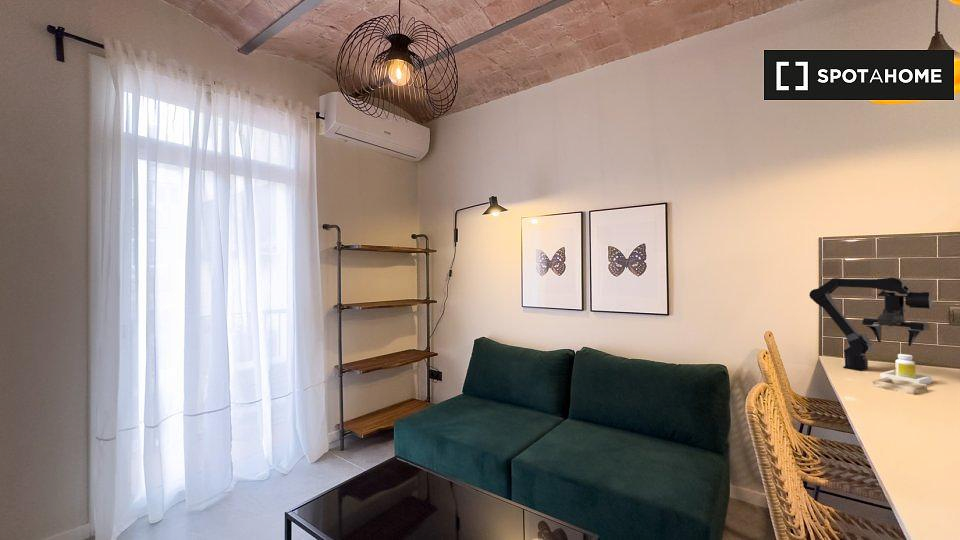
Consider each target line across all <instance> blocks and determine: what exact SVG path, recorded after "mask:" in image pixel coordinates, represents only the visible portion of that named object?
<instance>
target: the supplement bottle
mask: <svg viewBox="0 0 960 540" xmlns="http://www.w3.org/2000/svg"><path fill="white" fill-rule="evenodd" d="M897 358H898V359H895V362H894V363H895V364H894V365H895V367H894V368H895V369H894V370H895V375H896V376H902V377H907V378H913V379H915V374H916V362H915V361H913V358H914V357H913V355H911V354H906V353H899V354H897Z"/></svg>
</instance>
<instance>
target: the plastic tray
mask: <svg viewBox="0 0 960 540" xmlns="http://www.w3.org/2000/svg"><path fill="white" fill-rule="evenodd" d="M879 377H880V378H879V379H882V378H886V377H888V378H893V379H899V380H904V381H910V382H915V383H920V384H926V385H927V386H928V385H929V384H932V383H933V376H932V375H925V374H921V373H915V379H913V378H907V377H902V376H896V375H895V369H892V370H887V371H884V372H880V375H879Z"/></svg>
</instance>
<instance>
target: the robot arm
mask: <svg viewBox="0 0 960 540" xmlns="http://www.w3.org/2000/svg"><path fill="white" fill-rule="evenodd" d="M839 287H840V288H841V287H842V288H844V287H845V288H867V289H869V288H871V289H875V290H881V291H880V292H879V293H878V294H877V297H883V298H884V300H883V301H884V302H883V304H884V305H883V306H884V308H883V310H882V314H881V313H880V315H879V316H878V317H865V318H863V319H862V320H861V324H862V326H863V325H865V326H866V327H867V328H869V329H871V330H872V332H873V334H874V336H875V337H876V340H877V342H878V343H882V326H887V327H904V328H909V329H907V330H908V341H907V342H908V344H907V345H908V346H909V347H911V346H913V343H914V342H915V340H916V338H917V337H918V336H919V335H920V333H921V332H925V331H928V330H930V324H929V323H928V322H926V321H910V322H906V319H905V313H906V309H905V305H906V306H907V307H909V308H910V309H920V310H921V309H925V310H931V309H932V306H933V300H932V296H931V292H930V291H912V290H911V289H909V287H908V286H906V282H905V281H904V279H902V278H901V277H897V276H894V277H885V278H875V279H867V278H839V277H835V278H831V279H830V280H829V281H827V282H825V283H824V284H823V285H821V286H820V287H817V288H814V289H812V290H810V292H809V298H810V299H811V300H812V301H813V302H814V303H815V304H817V305H818V306H819V307H821V308H823V310H824V311H825V312H826V313H827V314H828V316H829V317H830V318H831V320H833V322H834V323H835V324H836V325H837V327H838V328H839V330H840V331H841V332H842V333H843V334H844V336H845V338H846V341H847V343H848V344H849V347H847V348H846V349H844V350H843V353H844V365H843V366H842V368H844V369H850V370H853V371H854V370H855V371H859V372H860V371H866V370H869V361H868V358H867V355H866V353H867V352H869V351H871V350H872V349H873V343H872V341H873V340H871V339H870V338H869V337H868V335H867V334H866V333H865V332H864V333H861V332H858V331H857V330H856V328H854V326H853V325H852V324H851V322H850V321H849V320H848V319H847V317H845V316H844V314H843V313H842V312H841V311H840V309H839V308H838V307H837V306H836V304H835V302H834V300H833V297H832V295H831V294H832V293H833V292H835V290H837V289H838V288H839Z"/></svg>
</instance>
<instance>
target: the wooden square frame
mask: <svg viewBox="0 0 960 540" xmlns="http://www.w3.org/2000/svg"><path fill="white" fill-rule="evenodd" d="M872 387H874V388H881V389H885V390H889V391H895V392H899V393H904V394H909V395H916V394H920V393H923V392H926V391H928V384H927V385H926V384H920V383H915V382H910V381H904V380H899V379H893V378H888V377H886V378H882V379H880V378H879V379H876V380H875V379H874V380H873V381H872Z"/></svg>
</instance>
